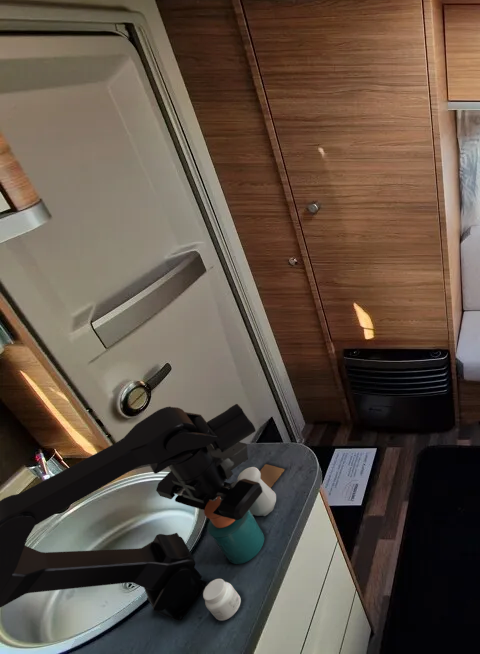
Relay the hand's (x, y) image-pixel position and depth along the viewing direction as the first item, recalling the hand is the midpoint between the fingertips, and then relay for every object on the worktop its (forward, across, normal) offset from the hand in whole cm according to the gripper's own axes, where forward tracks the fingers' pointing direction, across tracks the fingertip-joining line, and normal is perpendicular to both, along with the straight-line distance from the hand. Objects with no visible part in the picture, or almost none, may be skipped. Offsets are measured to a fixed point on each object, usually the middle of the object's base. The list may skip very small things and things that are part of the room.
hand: (225, 513), depth 82 cm
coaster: (+13, +7, -14) cm, 20 cm away
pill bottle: (+13, -5, +10) cm, 17 cm away
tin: (+13, 0, 0) cm, 13 cm away
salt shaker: (+13, +2, -8) cm, 15 cm away
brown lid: (+1, 0, 0) cm, 1 cm away
